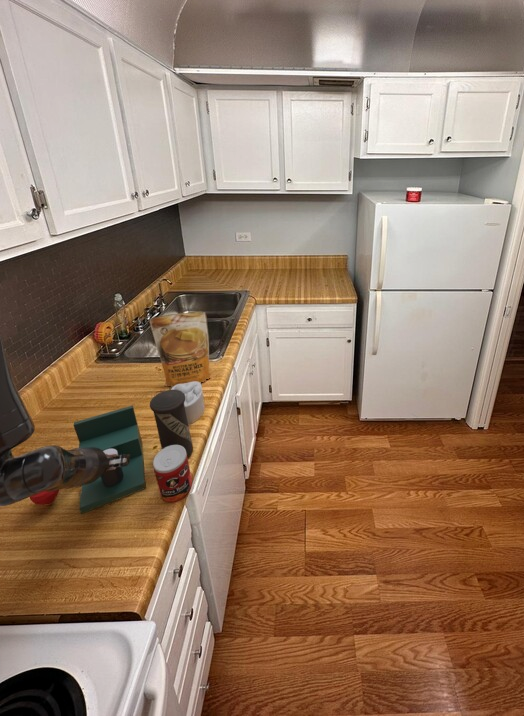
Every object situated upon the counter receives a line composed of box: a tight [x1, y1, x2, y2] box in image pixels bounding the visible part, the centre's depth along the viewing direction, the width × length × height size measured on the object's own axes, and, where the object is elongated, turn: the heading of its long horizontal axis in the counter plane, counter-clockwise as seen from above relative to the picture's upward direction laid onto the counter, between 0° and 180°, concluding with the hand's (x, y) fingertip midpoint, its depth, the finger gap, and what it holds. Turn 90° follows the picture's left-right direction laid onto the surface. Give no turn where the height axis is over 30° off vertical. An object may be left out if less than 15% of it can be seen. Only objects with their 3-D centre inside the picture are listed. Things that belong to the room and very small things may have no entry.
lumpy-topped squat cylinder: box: [170, 381, 206, 426], centre depth 110 cm, size 10×13×9 cm
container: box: [149, 389, 194, 459], centre depth 92 cm, size 9×9×20 cm
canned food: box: [152, 445, 193, 503], centre depth 83 cm, size 8×8×11 cm
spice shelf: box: [73, 404, 147, 514], centre depth 87 cm, size 14×17×14 cm
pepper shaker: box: [101, 449, 123, 487], centre depth 84 cm, size 5×5×8 cm
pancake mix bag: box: [148, 310, 212, 388], centre depth 122 cm, size 7×19×28 cm, turn 107°
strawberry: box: [29, 490, 61, 506], centre depth 80 cm, size 6×8×10 cm
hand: (112, 461), depth 86 cm, fingers open, 5 cm apart
